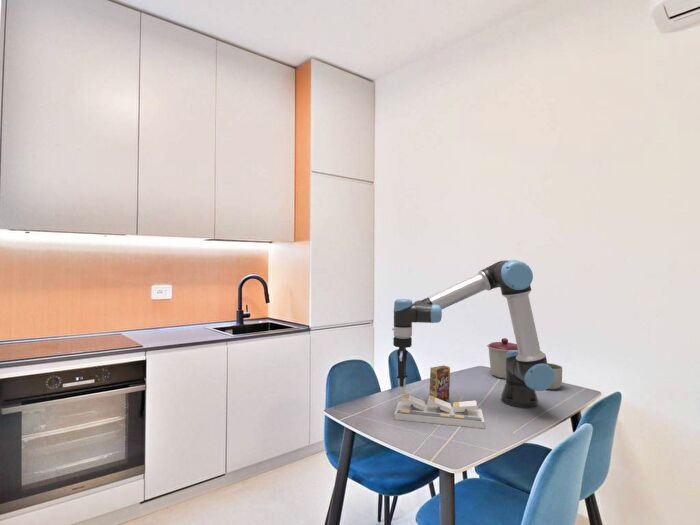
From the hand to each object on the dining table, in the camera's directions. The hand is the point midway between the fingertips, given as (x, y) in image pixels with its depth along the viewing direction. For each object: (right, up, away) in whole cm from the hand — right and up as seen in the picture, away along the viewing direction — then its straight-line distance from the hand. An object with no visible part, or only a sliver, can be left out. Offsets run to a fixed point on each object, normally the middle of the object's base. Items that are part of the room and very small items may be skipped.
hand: (401, 393), depth 170 cm
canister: (+63, -9, +56) cm, 85 cm away
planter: (+79, -9, +37) cm, 87 cm away
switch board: (+14, -8, -4) cm, 17 cm away
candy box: (+19, -8, +15) cm, 26 cm away
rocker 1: (+4, -4, -1) cm, 6 cm away
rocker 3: (+25, -4, -6) cm, 26 cm away
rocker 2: (+15, -4, -3) cm, 15 cm away
